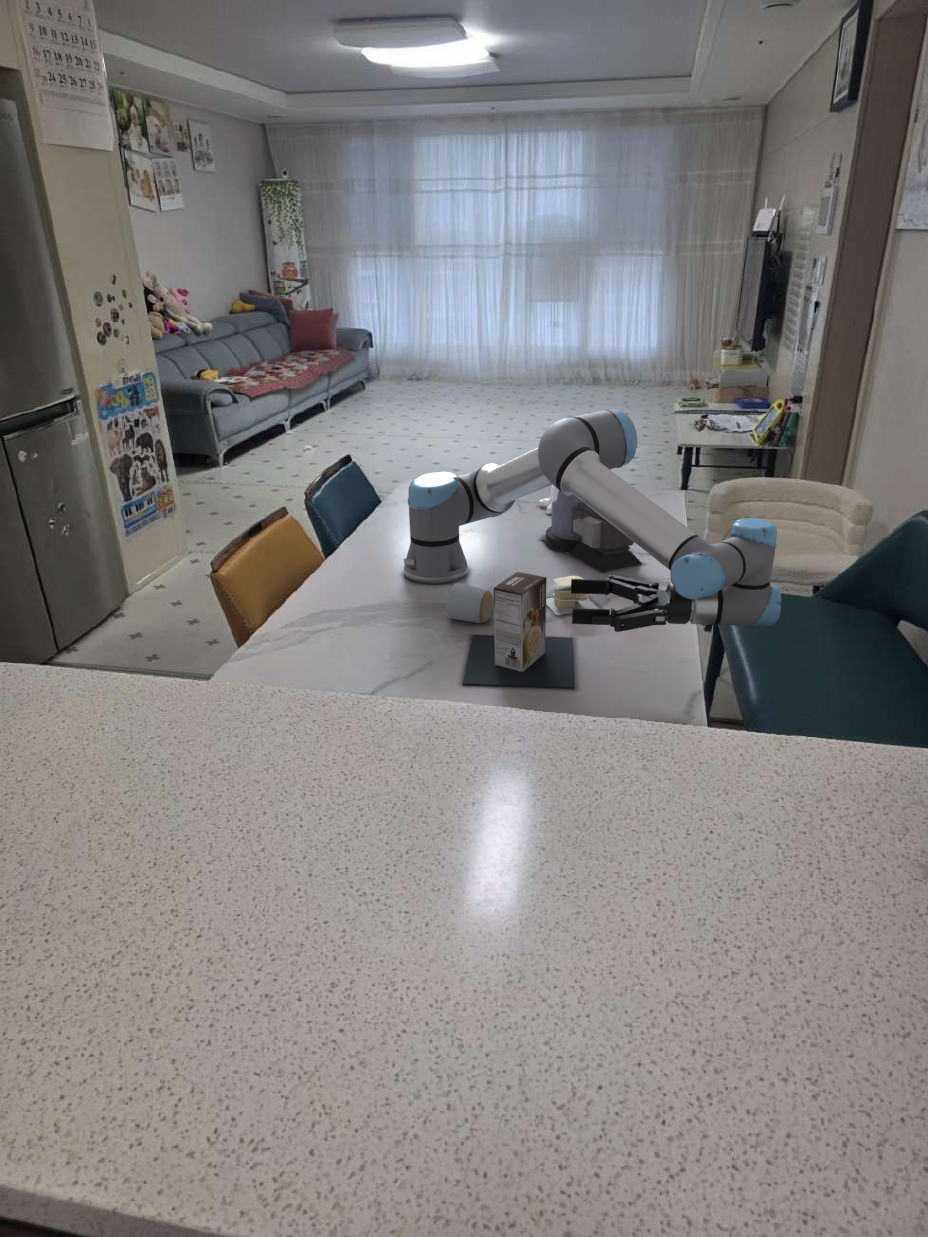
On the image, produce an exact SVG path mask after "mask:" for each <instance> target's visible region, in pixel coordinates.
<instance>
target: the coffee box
mask: <svg viewBox="0 0 928 1237" xmlns="http://www.w3.org/2000/svg"><path fill="white" fill-rule="evenodd" d="M547 579H548V578H547V576H543V575H542V576H541V575H536V574H533V573H532V574H531V573H525V572H520V571H516V572H514V573H513V574H512V575H511V576H508V577H507V578H506V579H504V580H502V581H501V582H500V583H499V584H497V585H496V586H494V587H493V619H494V620H493V627H494V628H493V631H494V632H493V633H494V634H493V636H494V640H495V665H498V666H502V667H505V668H509V669H513V670H517V671H520V672H524V671H525V670H526V669H527V668H528V667H529V666H531V665H532V664H533V663H534V662H535V661H536V660H538V659H539V658H540V657H541V656H542V655H543V654H545V637H546V630H547V629H546V626H547V625H546V624H547V623H546V622H547V620H546V619H547V604H546V599H547Z"/></svg>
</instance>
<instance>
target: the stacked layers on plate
mask: <svg viewBox="0 0 928 1237" xmlns="http://www.w3.org/2000/svg"><path fill="white" fill-rule="evenodd" d="M571 579H584V578H583V577H581V576H579V575H568V576H563V577H557V578H553V579H552V580H553V581H554V582H555V583H554V584H552V587H553V588H554V592H552V594H551V595H552V596H553V597H549V598H547V597H546V606H548V608H549V609H550V610H551V611H552V612H553V614H555V615H556V616H561V615H568V614H572V610H573V608H577V609H600V608H599V607H598V606H597V605H596V604H595V603H594V602H593V601H592V599H590V598H589V597H590V596H589V594H572V593H571Z"/></svg>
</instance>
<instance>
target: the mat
mask: <svg viewBox="0 0 928 1237" xmlns="http://www.w3.org/2000/svg"><path fill="white" fill-rule="evenodd" d="M573 653H574V652H573V637H562V636H561V637H559V636H545V654H543V655H542V656H541V657H540V658H539V659H538V660H536V661H535V662H534V663H533V664H532V665H531V666H529V667H528V668H527V669H526V670H525V671H524V672H520V671H517V670H513V669H509V668H505V667H502V666H498V665H495V640H494V634H493V635H491V634H488V635H486V634H472V636H471V641H470V645H469V652H468V656H467V661H466V666H465V670H464V676H463V681H462V686H479V687H480V686H484V687H511V688H513V687H515V688H519V687H520V688H541V689H568V690H570V689H572V690H574V689H575V678H574V676H575V675H574V654H573Z"/></svg>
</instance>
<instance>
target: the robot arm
mask: <svg viewBox="0 0 928 1237" xmlns="http://www.w3.org/2000/svg"><path fill="white" fill-rule="evenodd" d="M638 440H639V439H638V433H637V429H636V426H635V424H634V422H633V421H632V419H631V418H630V416H629V415H628V414H626V413H625V412H624V411H622V410H621V409H616V408H615V409H614V408H612V409H607V408H606V409H603V410H599V411H595V412H591V413H586V414H581V415H576V416H571V417H565V418H561V419H559V420H557V421H555V422H553V423H552V424H551V425H549V426H548V427H547V428H546V430H545V431H544V432H543V434H542V436H541V437H540V440H539V443H538V447H536V448H534V449H531V450H530V451H527V452H526V453H525V452H524V453H523V454H521V455H519V456H517V457H515V458H513V459H511V460H509V461H506V462H505V463H502V464H499V463H496V462H495V463H494V462H492V463H488V464H485V465H483V466H481V467H479V468H477V469H475V470H472V471H470V472H467V473H463V474H459V475H456V474H455V473H453V472H449V471H437V472H429V473H425V474H422V475H419V476H418V477H416V478H414V479H413V480H412V481H411V482H410V484H409V486H408V489H407V490H408V491H407V492H408V494H407V497H408V498H407V505H408V520H409V536H410V542H409V547H408V551H407V554H406V557H405V558H403V564H404V566H403V572H404V576H405V577H406V578H407V579H409V580H410V581H413V582H416V583H421V584H426V585H436V584H437V585H440V584H448V583H453V582H456V581H459V580H461V579H463V578H465V576H467V575H468V572H469V571H468V561H467V559H466V555H465V554H464V550H463V548H462V545H461V542H460V527H461V526H464V525H468V524H471V523H475V522H478V521H481V520H485V519H489V518H490V519H491V518H495V517H499V516H501V515H503V514H505V513H506V512H508V511H509V510H510V509H511V508H512V507H513V506H514V504H515V502H516V500H518V499H521V498H523V497H525V496H527V495H530V494H533V493H535V492H538V491H540V490H542V489H545V488H547V487H549V486H552V485H554V486H555V487H556V488H557V489H558V490H560V491H561V492H562V493H563V494H565V495H566V496H574V495H575V496H576V497H578V498H579V499H580V500H581V501H583V502H584V503H585V504H586V505H588V506H589V507H590V508H591V509H593V510H594V511H595V512H597V513H598V514H599V515H600V516H602V517H603V518H604V519H605V520H607V521H608V522H609V523H611V524H612V525H613V526H614V527H616V528H617V529H618V530H619V531H621V532H622V533H623V534H624V535H626V536H627V537H628V538H630V539H631V540H632V541H633V542H634V544H636V545H637V546H638V547H639V548H641V549H642V550H644V551H645V552H646V553H647V554H648V555H650V556H651V557H652V558H654V559H655V560H656V561H657V562H659V564H661V565H662V566H663V567H665V568H666V569H668V570H669V576H670V582H669V583H668V584H667V586H666V588H665V590H662V589H660V583H659V582H655V581H645V580H639V579H636V578H631V577H625V576H620V575H615V574H609V575H608V577H607V578H606V579H589V578H587V579H586V578H583V579H571V593H572V594H587V595H605V596H609V595H610V594H611V595H615V596H617V597H620V598H622V599H625V600H629V601H632V602H633V604H632V605H629V606H626V607H622V608H620V609H614V608H610V609H609V608H608V609H607V608H599V609H577V608H573V610H572V613H571V615H572V616H571V624H572V625H588V626H589V625H593V626H594V625H595V626H609V627H611V628H613V629H614V630H613V631H614V632H616V633H621V632H627V631H632V630H636V629H637V630H638V629H641V628H647V627H652V626H665V625H667V624H670V625H687V624H688V623H689V622H690V624H691V625H700V626H702V627H705V626H706V625H707V626H708V625H710V626H713V625H714V626H735V627H736V626H739V627H749V628H753V627H771V626H774V625H775V624H776V623H777V622H778V621H779V618H780V616H781V612H782V611H781V610H782V595H781V591H780V589H779V588H780V587H778V586H777V585H775V584H771V578H772V573H773V572H772V571H773V567H774V566H773V565H774V560H775V554H776V548H777V536H778V528H777V526H776V525H775V523H773V522H771V521H769V520H766V519H762V518H755V517H745V518H739V519H737V520H735V521H734V522H733V524H732V527H731V530H730V532H729V535H730V538H728V539H725V540H722V541H720V542H717V543H715V544H710V543H709V541H707V540H705V539H704V538H703V537H701V536H699V535H698V534H697V533H696V532H694V531H693V530H692V529H690V528H688V526H686V525H685V524H683V523H682V522H681V521H679V520H678V519H676V518H675V517H674V516H673V515H671V514H670V513H668V512H667V511H666V510H665V509H663V507H661V506H659V505H658V504H657V503H656V502H654V501H653V500H652V499H650V498H649V497H647V496H646V495H645V494H644V493H642V492H640V491H639V490H638V489H637V488H635V487H634V486H633V485H631V484H630V483H629V482H627V481H626V480H624V479H623V478H622V477H621V476H620V475H618V474H616V473H615V472H614V471H613V469H620V468H623V467H624V466H627V465H628V464H630V462H631V461H633V459H634V457H635V455H636V454H637V453H636V452H637V448H638V442H639V441H638Z"/></svg>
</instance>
